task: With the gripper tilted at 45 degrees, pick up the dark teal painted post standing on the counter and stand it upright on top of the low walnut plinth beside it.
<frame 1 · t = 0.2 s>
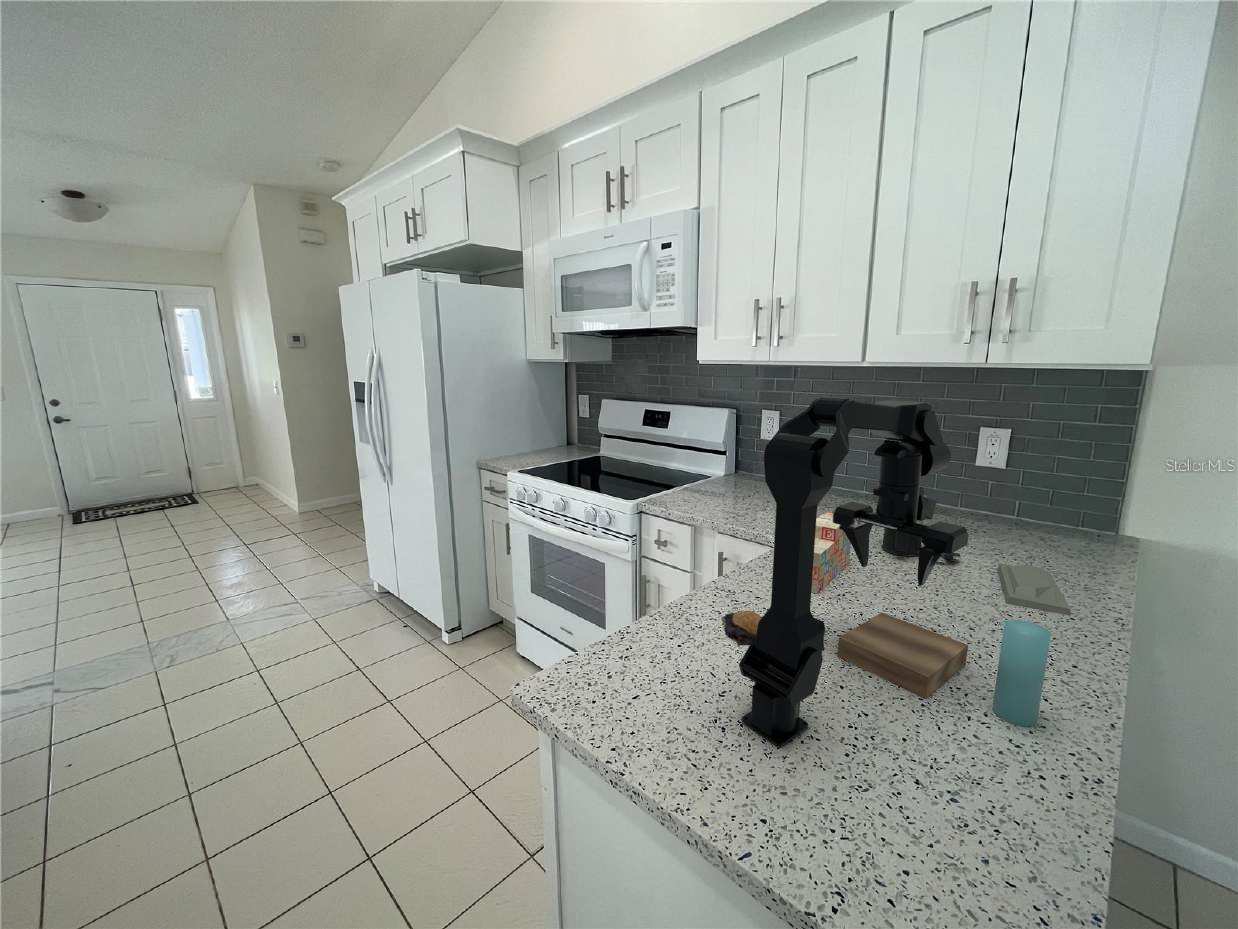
hand: (891, 575, 84), 14 cm above the table, tool pointing down, fingers open, 9 cm apart
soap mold: (1029, 593, 111), on the table
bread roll: (746, 633, 96), on the table
walnut plinth: (900, 660, 86), on the table
stack of blocks: (820, 576, 120), on the table
milk frother: (918, 555, 131), on the table
teal post: (1014, 714, 73), on the table
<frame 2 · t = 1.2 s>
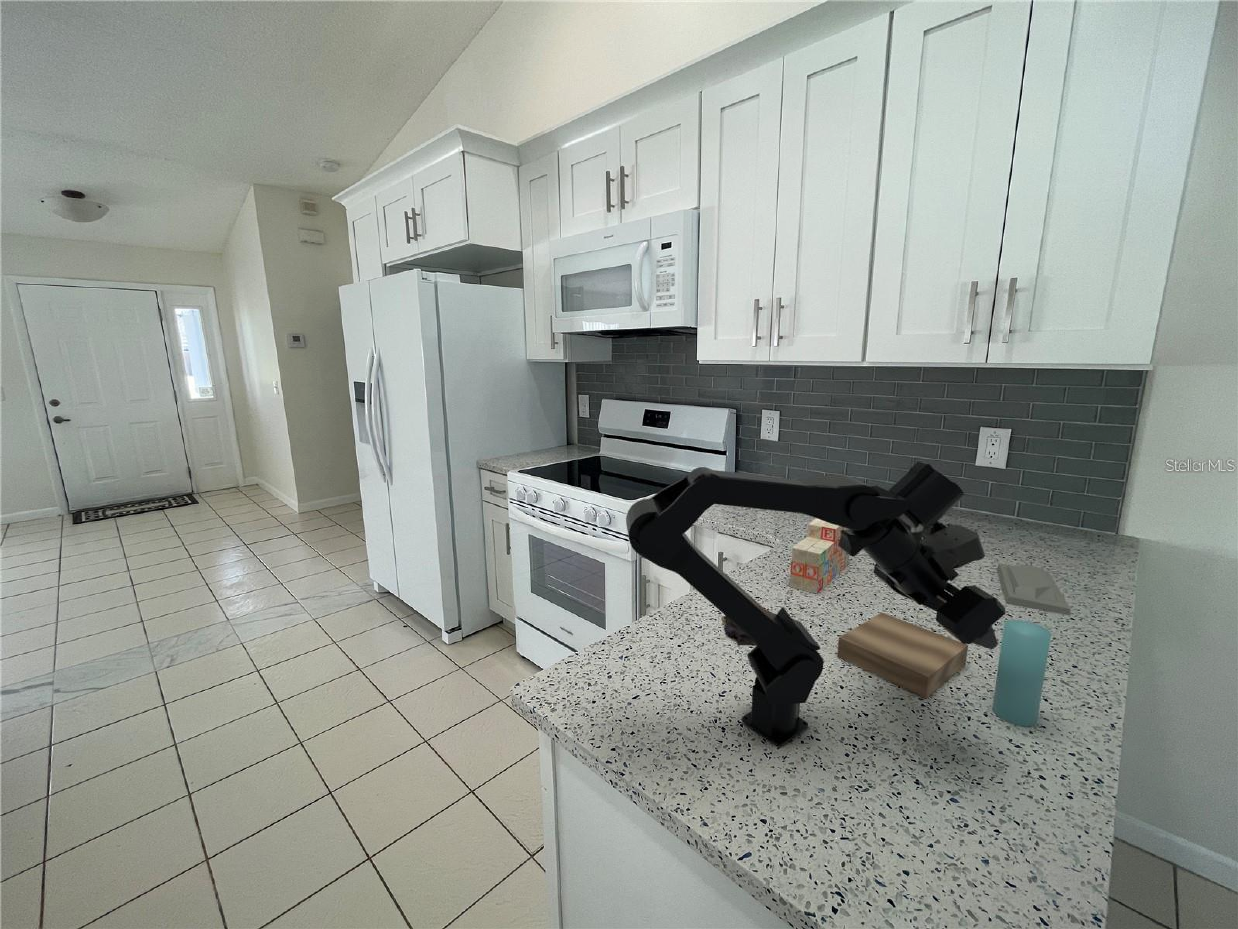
hand: (968, 627, 70), 13 cm above the table, tool tilted 45°, fingers open, 9 cm apart
nothing on the table moved.
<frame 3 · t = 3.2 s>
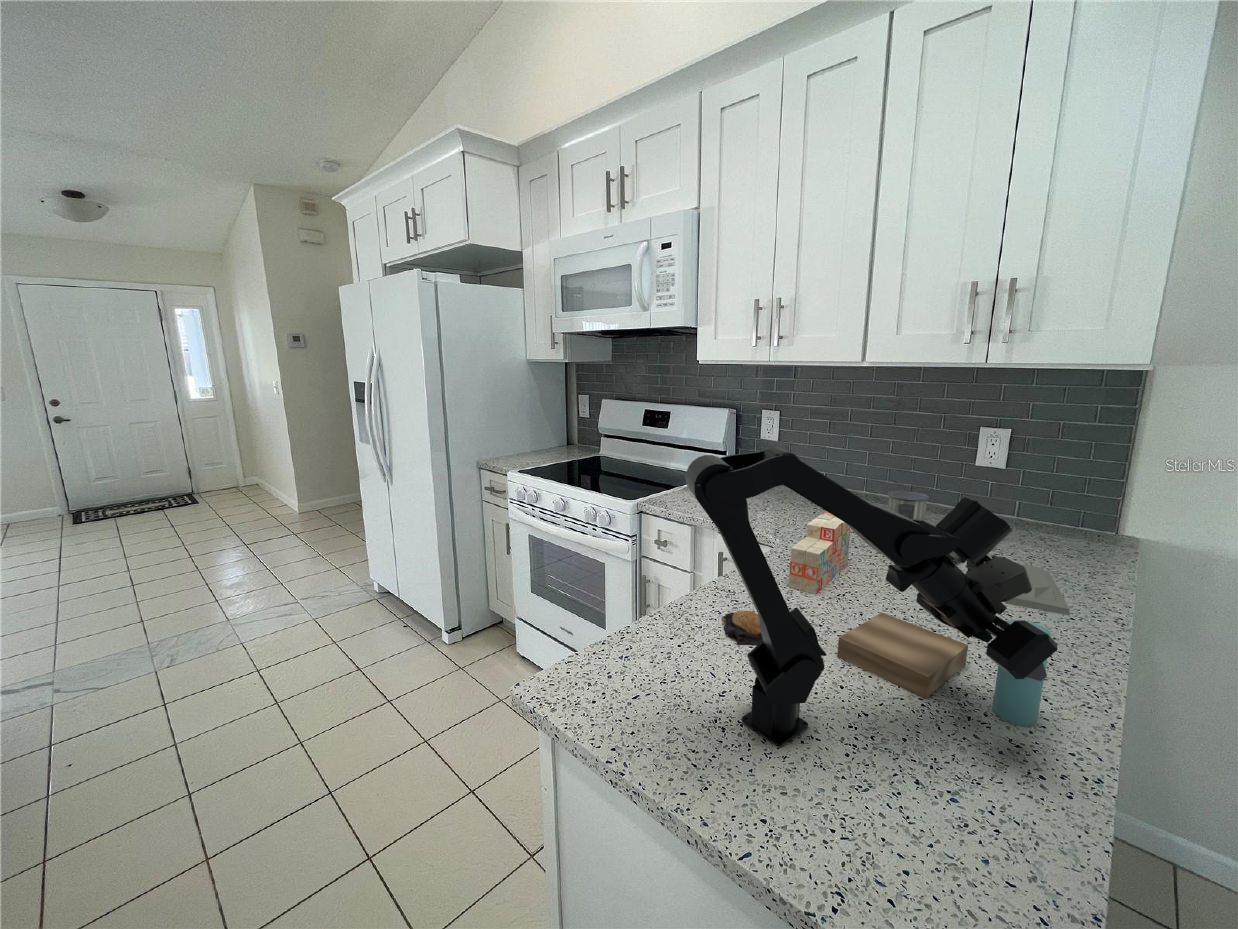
hand: (1014, 657, 71), 9 cm above the table, tool tilted 45°, fingers open, 9 cm apart
nothing on the table moved.
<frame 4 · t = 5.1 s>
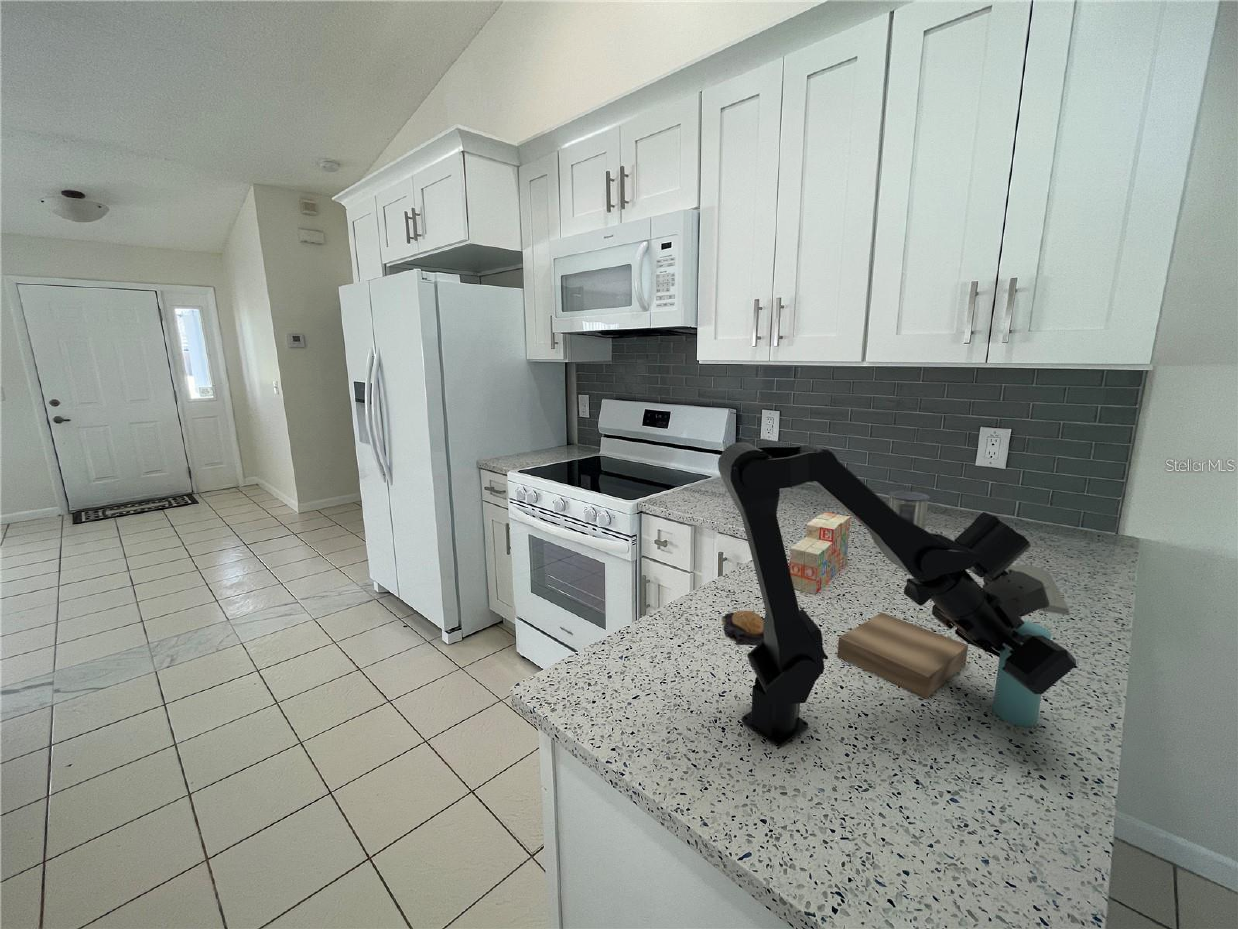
hand: (1030, 671, 71), 7 cm above the table, tool tilted 45°, fingers closed on teal post, 5 cm apart
teal post: (1014, 714, 73), on the table, touching gripper
everything else where it was.
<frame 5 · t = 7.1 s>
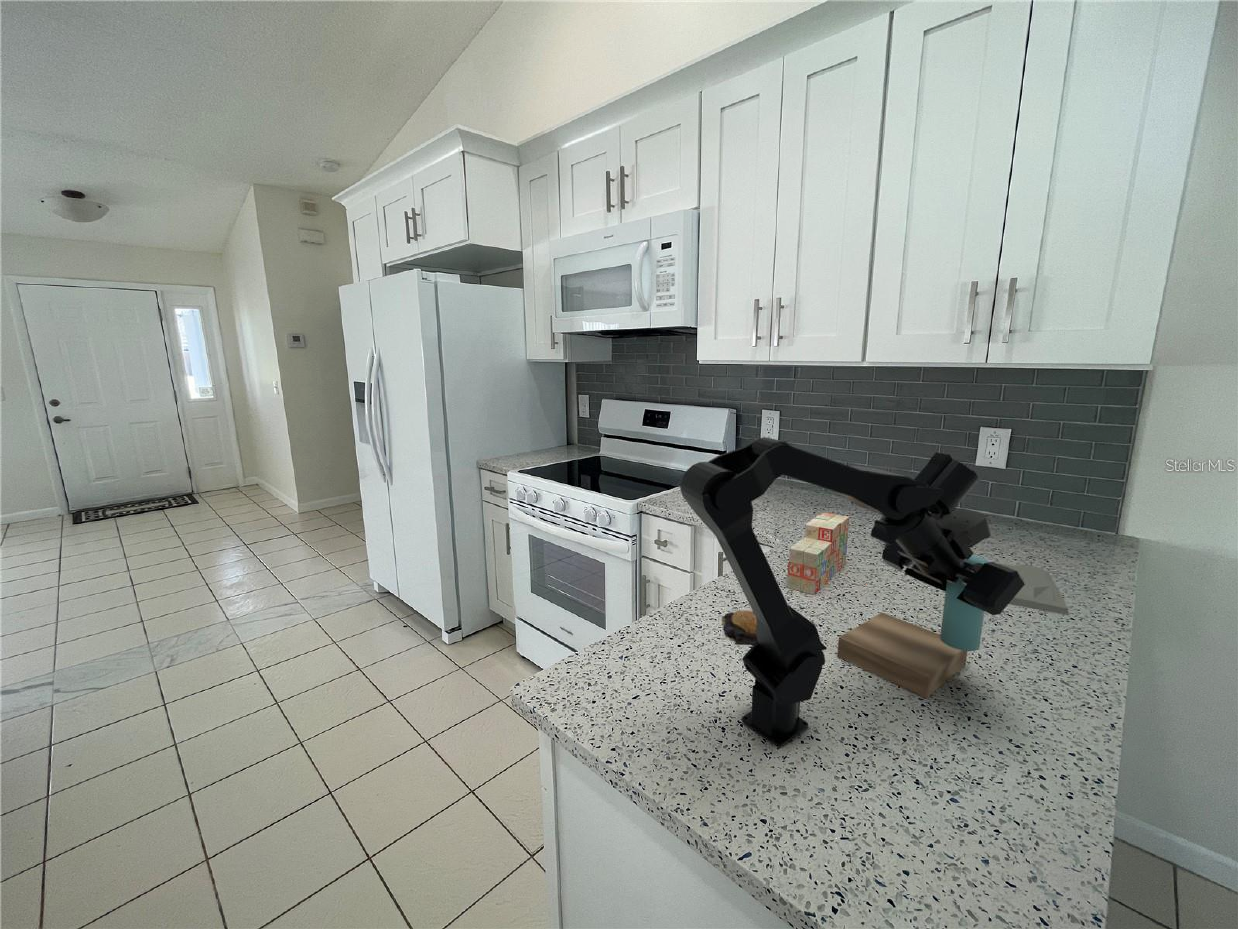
hand: (971, 600, 78), 13 cm above the table, tool tilted 45°, fingers closed on teal post, 5 cm apart
teal post: (959, 642, 79), point 7 cm above the table, touching gripper
everything else where it was.
when the fingers open (11 cm above the table, at t = 9.4 s): teal post drops 1 cm, resting on walnut plinth.
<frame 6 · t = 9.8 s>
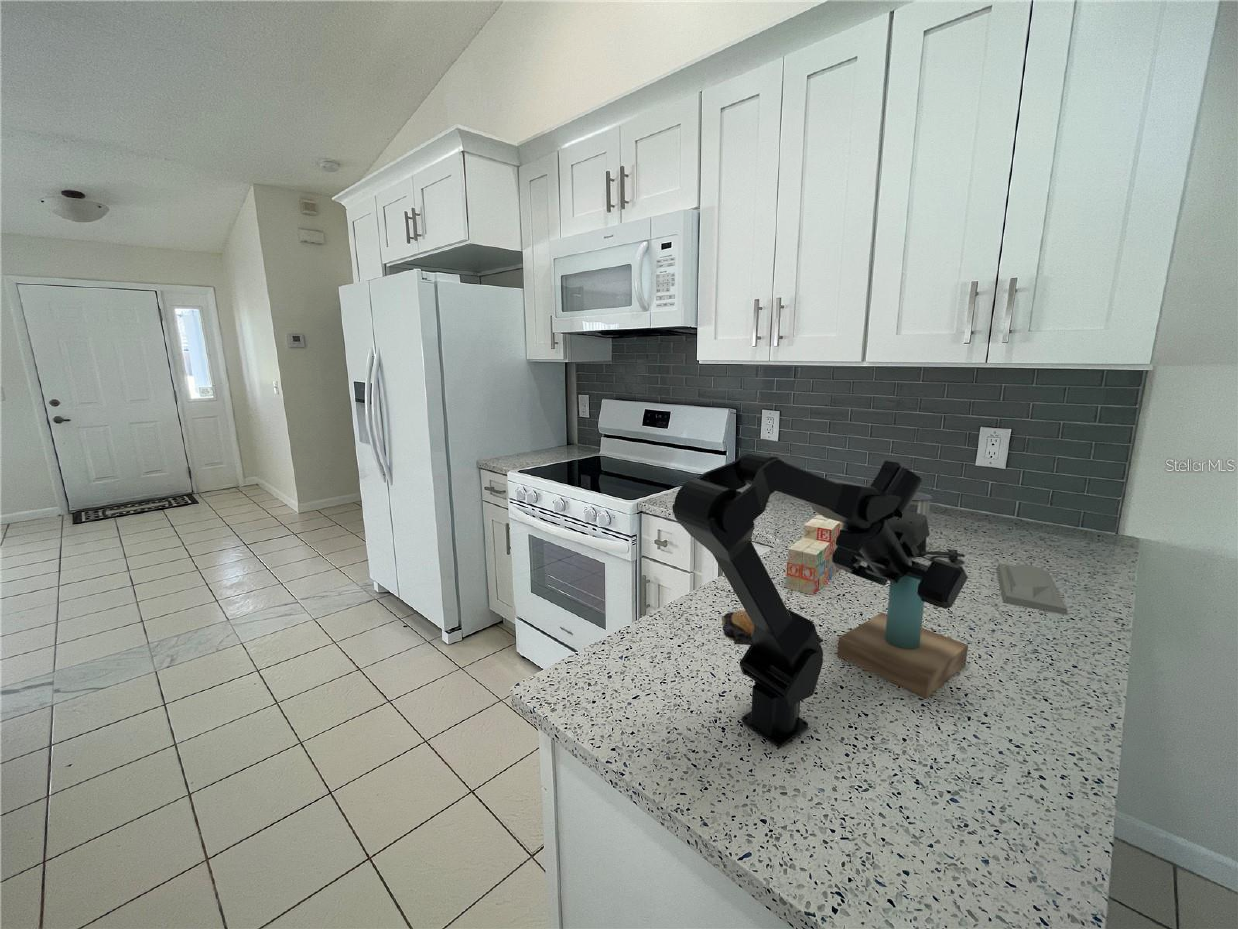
hand: (912, 593, 84), 12 cm above the table, tool tilted 45°, fingers open, 9 cm apart
teal post: (902, 641, 85), point 4 cm above the table, touching walnut plinth
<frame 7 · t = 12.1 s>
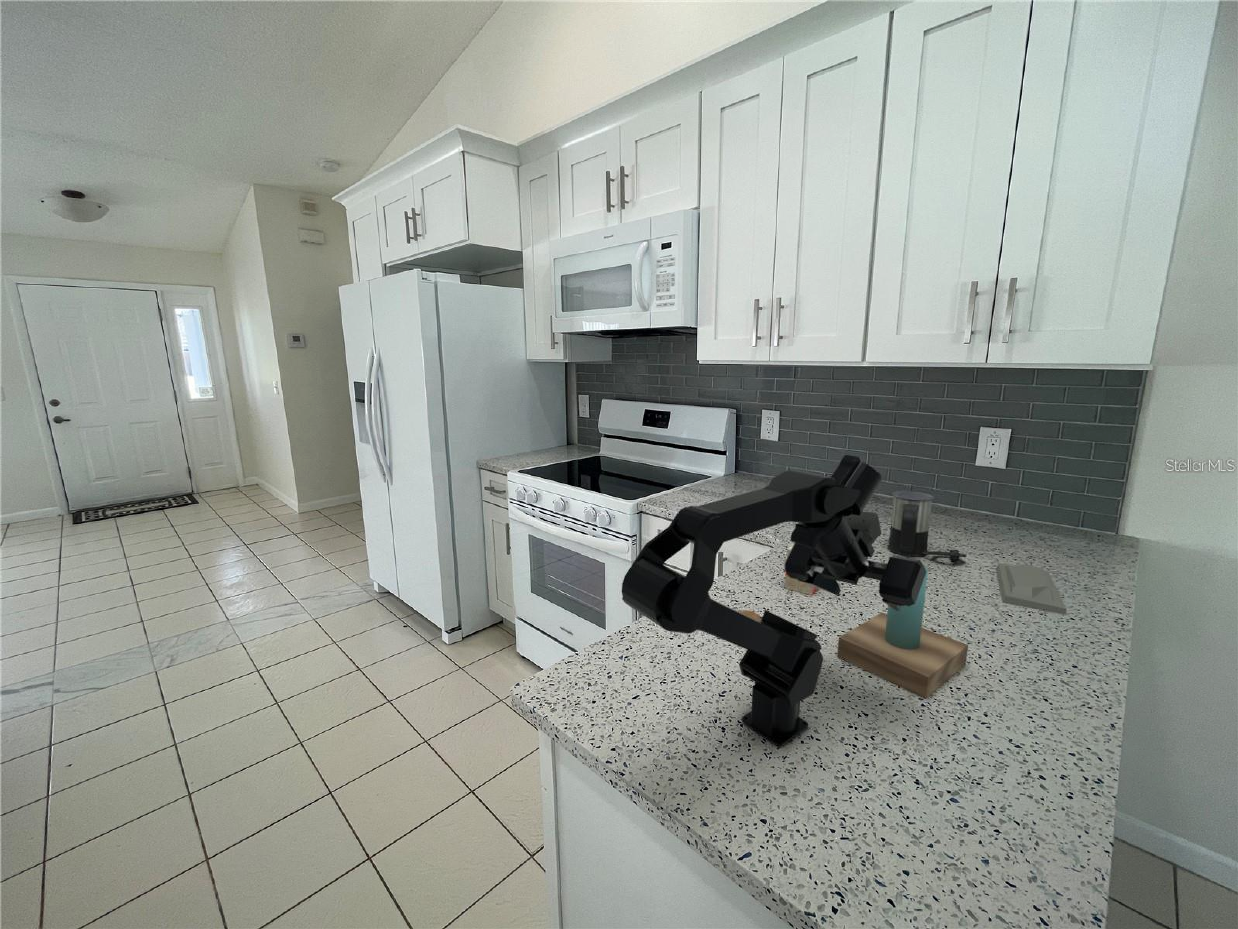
hand: (867, 600, 80), 13 cm above the table, tool tilted 40°, fingers open, 9 cm apart
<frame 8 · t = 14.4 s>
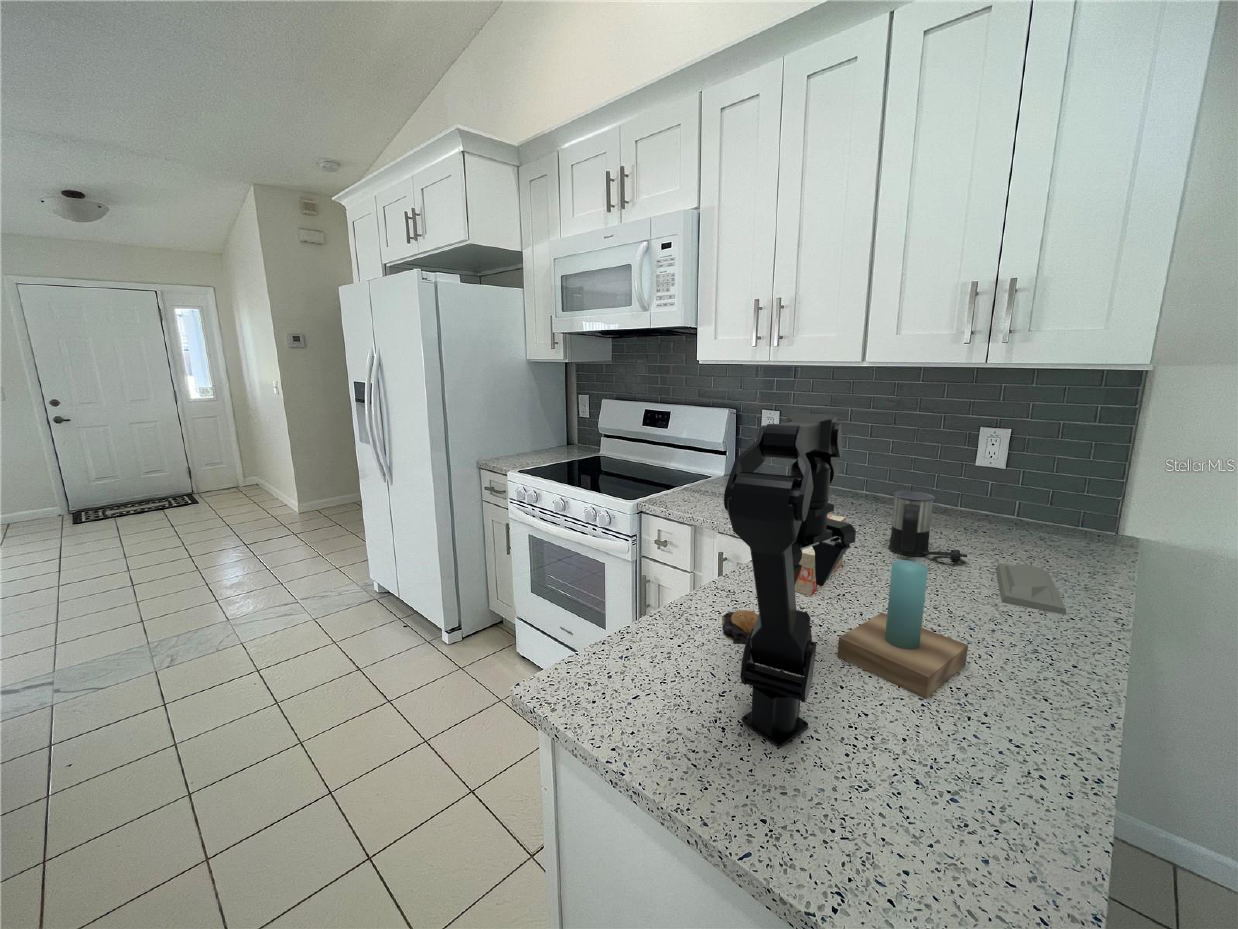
hand: (802, 593, 82), 13 cm above the table, tool pointing down, fingers open, 9 cm apart
at the end: teal post inside the target area on the walnut plinth (0.0 cm from its centre), point 3.5 cm above the walnut plinth's base; teal post tilted 0°; the gripper is holding nothing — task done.
